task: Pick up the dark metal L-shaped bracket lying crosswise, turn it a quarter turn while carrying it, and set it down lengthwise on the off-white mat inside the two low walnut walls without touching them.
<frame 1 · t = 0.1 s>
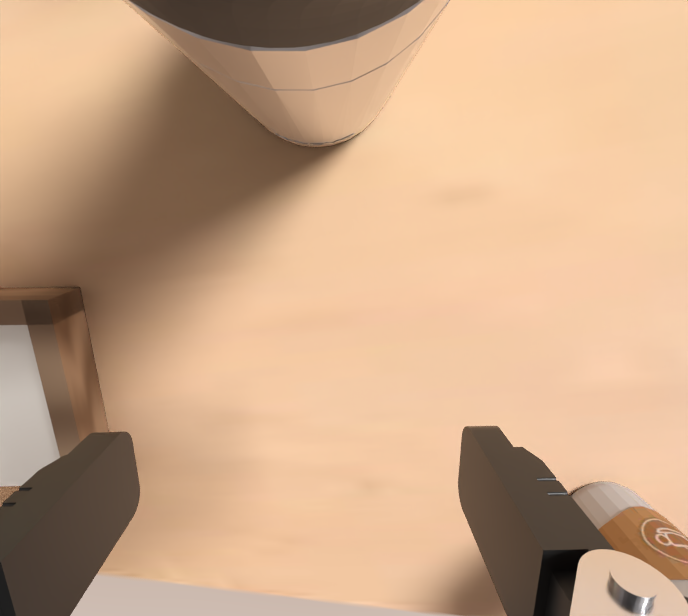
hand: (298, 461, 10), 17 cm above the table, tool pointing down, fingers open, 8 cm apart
coffee cup: (595, 509, 32), on the table
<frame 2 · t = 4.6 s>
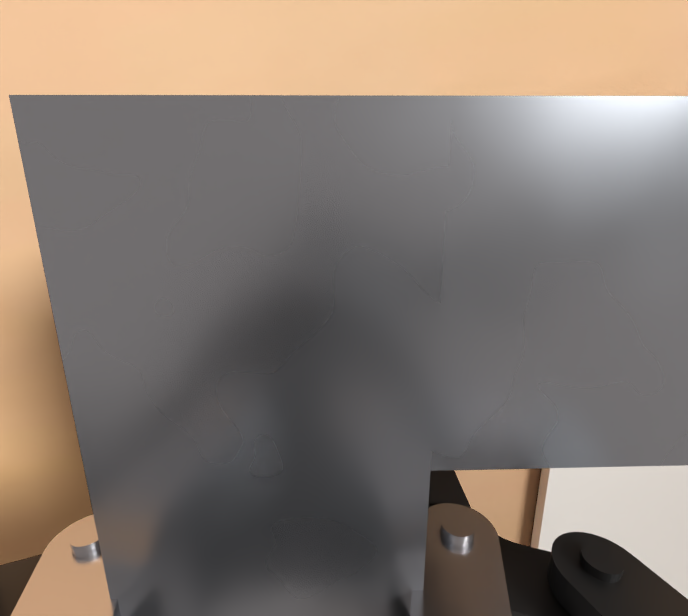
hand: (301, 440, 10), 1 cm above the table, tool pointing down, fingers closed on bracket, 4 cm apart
bracket: (305, 455, 11), on the table, touching gripper
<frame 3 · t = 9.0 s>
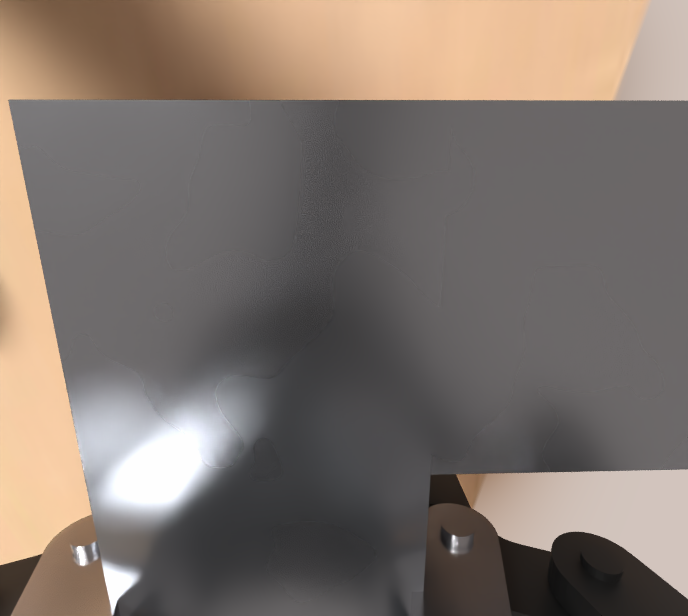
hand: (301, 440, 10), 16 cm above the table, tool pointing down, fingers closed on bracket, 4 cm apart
bracket: (305, 456, 11), point 15 cm above the table, touching gripper
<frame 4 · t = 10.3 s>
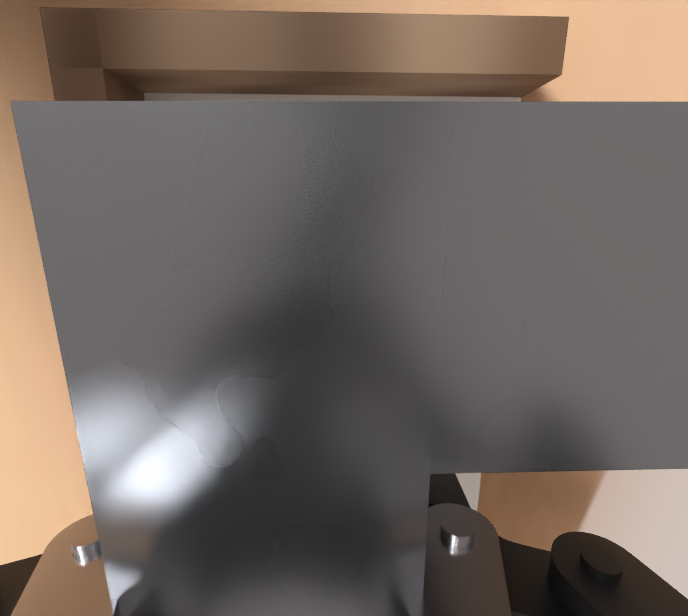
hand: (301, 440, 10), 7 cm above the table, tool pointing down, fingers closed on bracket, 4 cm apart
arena: (306, 353, 17), on the table
mat: (335, 364, 17), on the table
bracket: (305, 456, 11), point 6 cm above the table, touching gripper
when the fingers open (3 cm above the table, at t = 11.4 s): bracket drops 2 cm, resting on mat.
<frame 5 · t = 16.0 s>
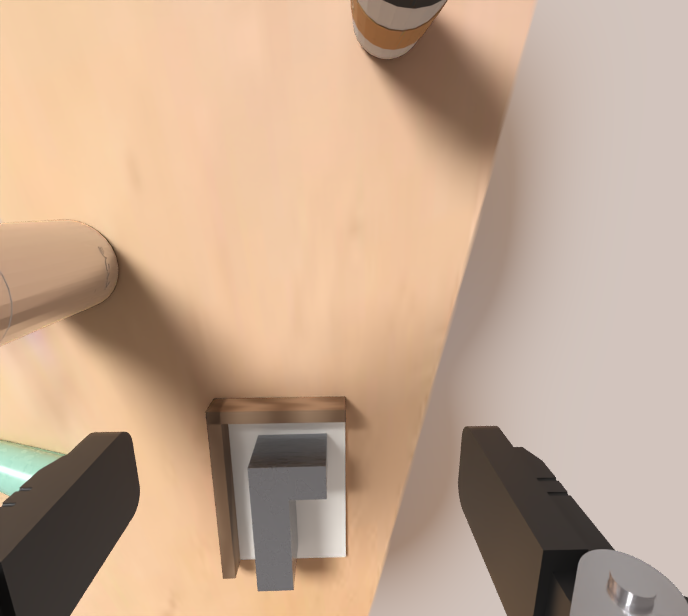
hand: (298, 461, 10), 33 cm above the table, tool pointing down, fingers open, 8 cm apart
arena: (279, 483, 48), on the table
coffee cup: (386, 23, 36), on the table
mat: (290, 486, 49), on the table
bracket: (279, 492, 48), resting on mat
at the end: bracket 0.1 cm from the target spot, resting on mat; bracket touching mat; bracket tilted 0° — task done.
